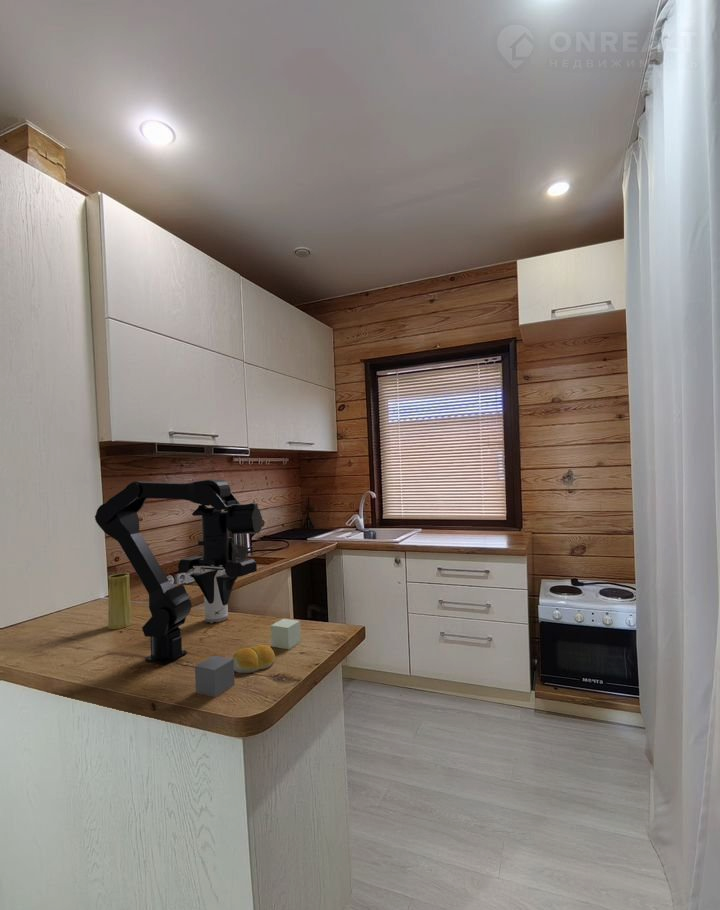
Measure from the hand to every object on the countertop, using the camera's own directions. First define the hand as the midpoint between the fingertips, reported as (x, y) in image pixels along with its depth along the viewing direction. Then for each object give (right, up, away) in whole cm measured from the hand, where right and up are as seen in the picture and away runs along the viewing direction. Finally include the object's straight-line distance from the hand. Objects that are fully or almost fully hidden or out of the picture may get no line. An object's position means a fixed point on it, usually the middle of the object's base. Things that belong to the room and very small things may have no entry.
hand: (218, 604), depth 99 cm
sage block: (+14, -12, +6) cm, 20 cm away
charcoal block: (+4, -11, -15) cm, 19 cm away
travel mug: (-9, -14, +26) cm, 31 cm away
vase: (-36, -15, +25) cm, 47 cm away
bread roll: (+9, -12, -5) cm, 16 cm away
